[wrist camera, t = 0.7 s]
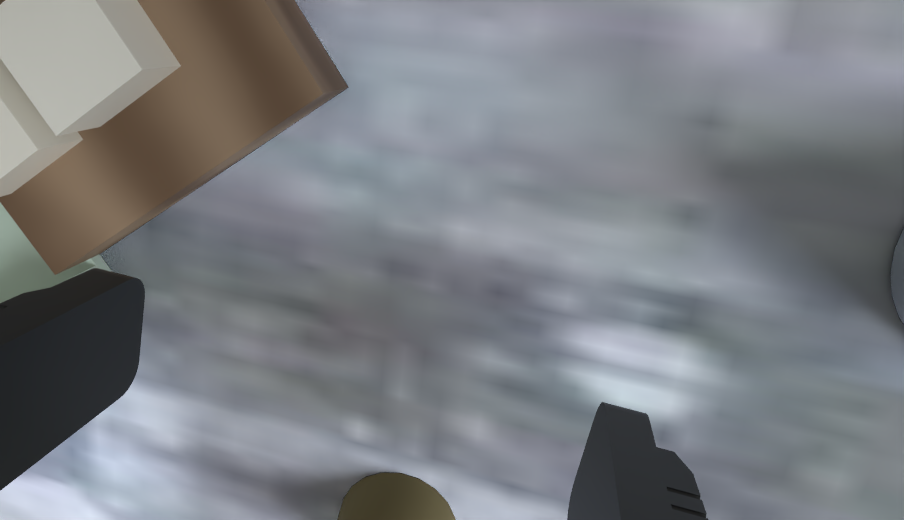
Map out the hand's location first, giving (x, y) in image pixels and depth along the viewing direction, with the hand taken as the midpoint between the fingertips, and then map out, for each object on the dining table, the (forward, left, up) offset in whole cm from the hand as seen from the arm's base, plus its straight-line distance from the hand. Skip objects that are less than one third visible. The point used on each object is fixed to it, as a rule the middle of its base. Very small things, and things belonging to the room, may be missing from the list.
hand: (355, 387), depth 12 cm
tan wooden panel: (+11, -12, -18) cm, 24 cm away
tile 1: (+10, -12, -15) cm, 22 cm away
